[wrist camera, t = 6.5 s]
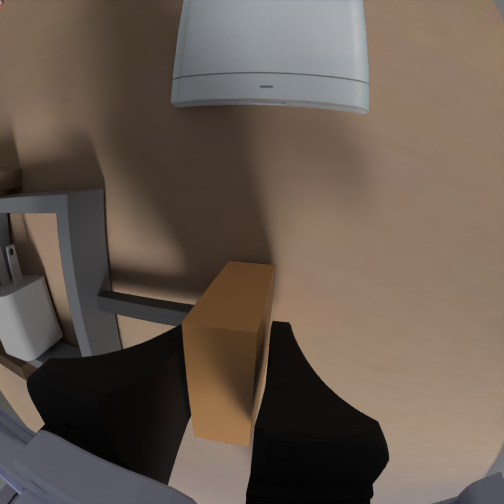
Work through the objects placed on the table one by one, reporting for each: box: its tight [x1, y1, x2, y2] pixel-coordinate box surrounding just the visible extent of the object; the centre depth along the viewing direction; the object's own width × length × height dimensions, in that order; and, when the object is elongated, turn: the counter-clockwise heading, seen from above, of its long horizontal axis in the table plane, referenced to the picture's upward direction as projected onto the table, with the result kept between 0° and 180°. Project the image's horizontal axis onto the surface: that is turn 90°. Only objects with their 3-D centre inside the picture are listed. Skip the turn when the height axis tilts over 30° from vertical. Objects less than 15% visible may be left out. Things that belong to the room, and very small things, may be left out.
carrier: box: [0, 189, 275, 446], centre depth 12 cm, size 11×19×6 cm, turn 87°
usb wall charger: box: [0, 244, 63, 361], centre depth 14 cm, size 4×7×4 cm, turn 6°
